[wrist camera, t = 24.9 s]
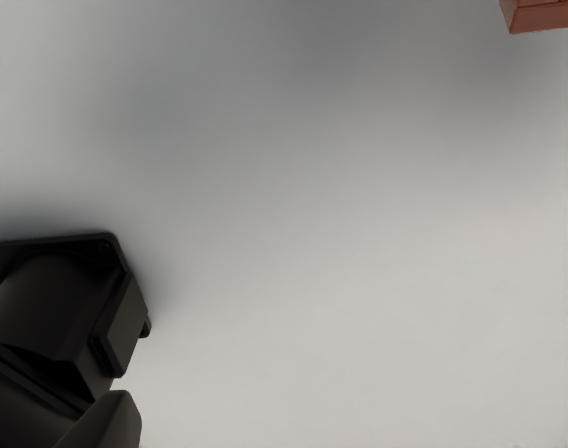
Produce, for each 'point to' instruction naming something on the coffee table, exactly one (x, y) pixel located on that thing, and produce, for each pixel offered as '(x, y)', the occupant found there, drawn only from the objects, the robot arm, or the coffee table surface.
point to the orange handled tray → (534, 15)
